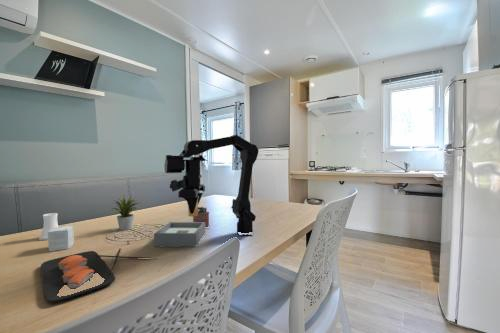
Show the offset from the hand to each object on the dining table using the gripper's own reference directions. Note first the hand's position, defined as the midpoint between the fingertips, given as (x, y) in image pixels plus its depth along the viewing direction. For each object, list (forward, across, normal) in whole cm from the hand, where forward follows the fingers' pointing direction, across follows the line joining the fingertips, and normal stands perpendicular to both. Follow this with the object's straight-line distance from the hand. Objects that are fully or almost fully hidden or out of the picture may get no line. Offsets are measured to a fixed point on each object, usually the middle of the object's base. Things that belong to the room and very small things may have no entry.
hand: (193, 212), depth 92 cm
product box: (+13, +4, -49) cm, 51 cm away
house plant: (+13, -18, -36) cm, 43 cm away
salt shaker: (+13, -8, -63) cm, 64 cm away
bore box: (+12, -4, -6) cm, 14 cm away
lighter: (+12, -21, -1) cm, 25 cm away
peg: (+1, 0, 0) cm, 1 cm away
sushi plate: (+13, +19, -22) cm, 32 cm away
